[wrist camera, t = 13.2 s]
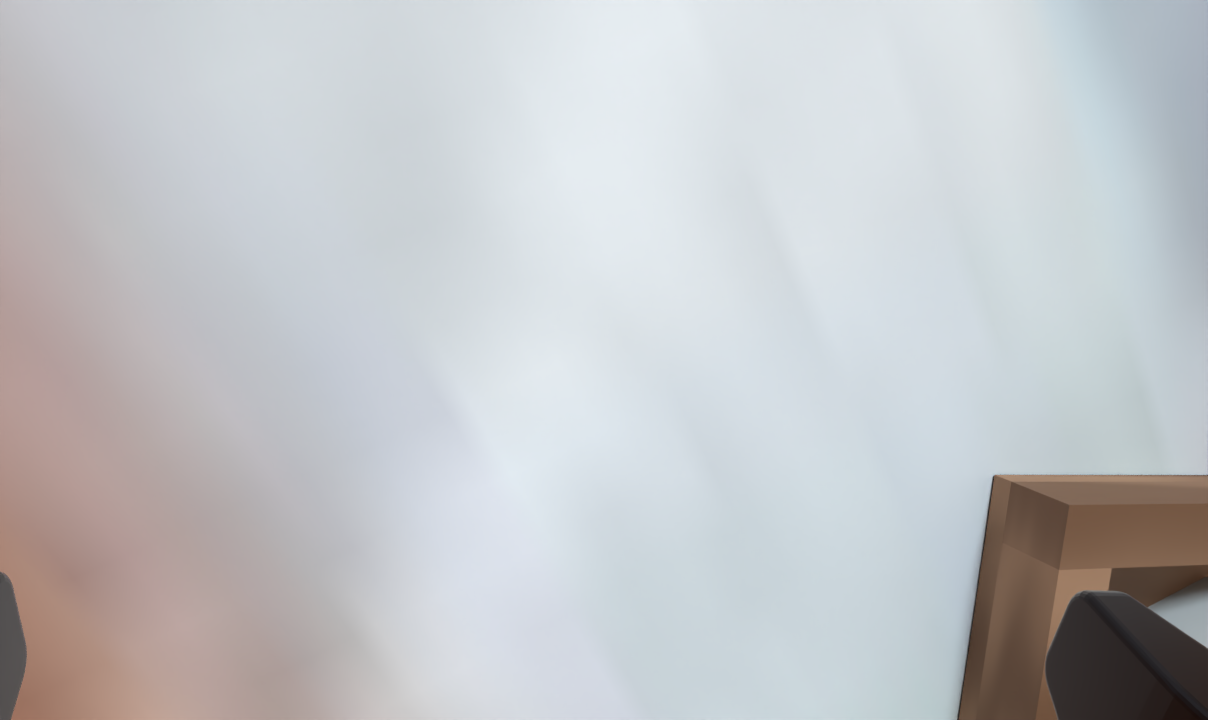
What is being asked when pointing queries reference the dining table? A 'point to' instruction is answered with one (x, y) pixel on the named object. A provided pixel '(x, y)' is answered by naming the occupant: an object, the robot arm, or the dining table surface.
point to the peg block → (1187, 610)
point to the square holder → (1071, 570)
